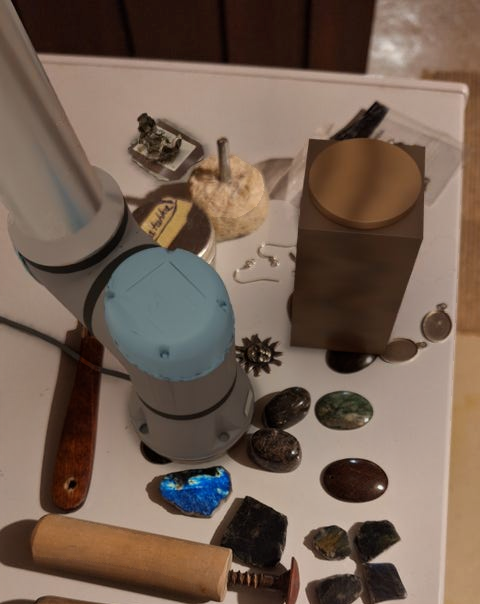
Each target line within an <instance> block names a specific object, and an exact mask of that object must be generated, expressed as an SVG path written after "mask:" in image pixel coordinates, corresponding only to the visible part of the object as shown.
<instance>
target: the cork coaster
mask: <svg viewBox="0 0 480 604" xmlns="http://www.w3.org/2000/svg"><path fill="white" fill-rule="evenodd" d="M340 141H341V142H338V143H336V144H333V145H332V146H330V147H328V148H327V149H325V150H324V151H323V152H322V153H320V154H319V155H318V157H317V158H316V159H315V161H314V162H313V164H312V166H311V169H310V173H309V185H308V187H309V193H310V196H311V199H312V201H313V203H314V204H315V206H316V207H317V209H318V210H319V211H320V212H321V213H322V214H324V215H325V216H326V217H327V218H329V219H331V220H332V221H334V222H336V223H338V224H341V225H344V226H347V227H351V228H358V229H375V228H381V227H385V226H388V225H391V224H393V223H396V222H397V221H399V220H401V219H402V218H404V217H405V216H406V215H407V214H408V213H409V212H410V211H411V210H412V209H413V207H414V206H415V204H416V202H417V200H418V197H419V193H420V190H421V184H422V183H421V175H420V171H419V169H418V166H417V165H416V163H415V161H414V160H413V159H412V158H411V157H410V156H409V155H408V154H407V153H406V152H405V151H403V150H402V149H401V148H399V147H397V146H395V145H393V144H394V143H390V142H388V141H385V140H382V139H377V138H370V137H357V138H349V139H344V140H340Z"/></svg>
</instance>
